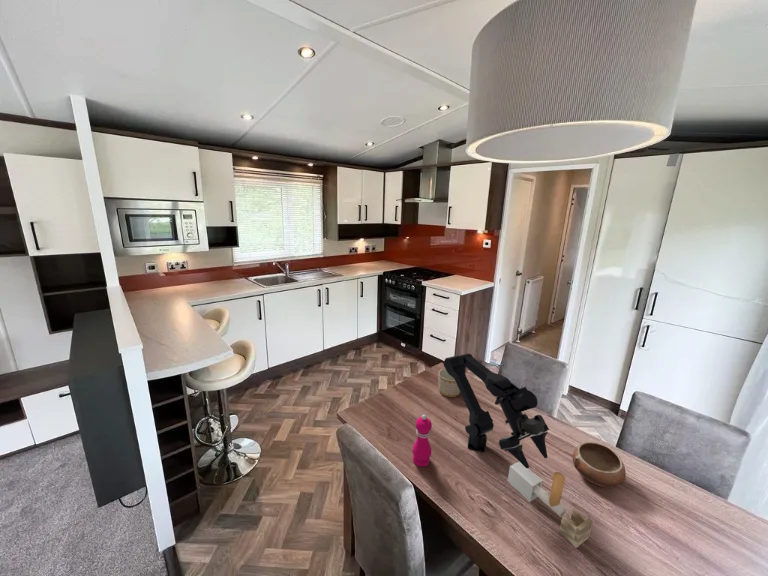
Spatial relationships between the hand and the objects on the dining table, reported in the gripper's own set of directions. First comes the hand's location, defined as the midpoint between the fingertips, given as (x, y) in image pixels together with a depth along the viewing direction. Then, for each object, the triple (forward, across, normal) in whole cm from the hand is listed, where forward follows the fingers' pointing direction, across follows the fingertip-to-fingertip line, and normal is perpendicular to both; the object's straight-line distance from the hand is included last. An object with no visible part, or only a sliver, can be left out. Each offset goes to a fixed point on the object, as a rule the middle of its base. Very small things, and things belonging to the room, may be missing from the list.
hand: (537, 462), depth 100 cm
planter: (-33, +15, +52) cm, 64 cm away
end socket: (+20, 0, -1) cm, 20 cm away
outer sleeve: (+7, 0, +12) cm, 14 cm away
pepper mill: (-11, -25, +30) cm, 41 cm away
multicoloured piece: (+9, 0, +6) cm, 11 cm away
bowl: (+14, +28, +6) cm, 32 cm away
